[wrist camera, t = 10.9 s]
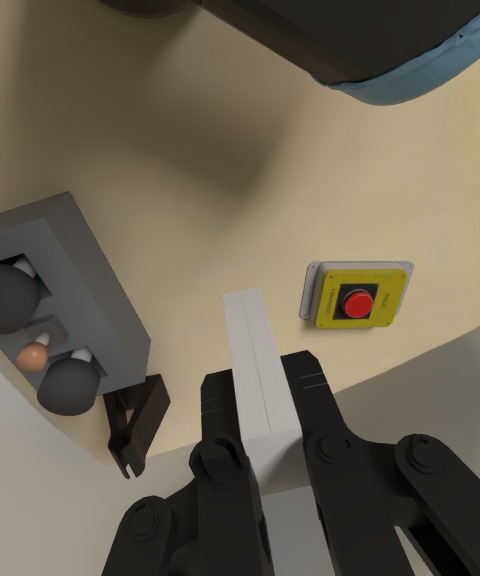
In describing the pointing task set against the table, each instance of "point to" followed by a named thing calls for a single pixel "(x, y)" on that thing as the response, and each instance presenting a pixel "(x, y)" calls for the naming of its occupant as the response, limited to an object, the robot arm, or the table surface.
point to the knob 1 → (17, 295)
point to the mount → (74, 292)
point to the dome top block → (41, 342)
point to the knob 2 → (70, 384)
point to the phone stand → (135, 421)
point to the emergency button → (354, 292)
